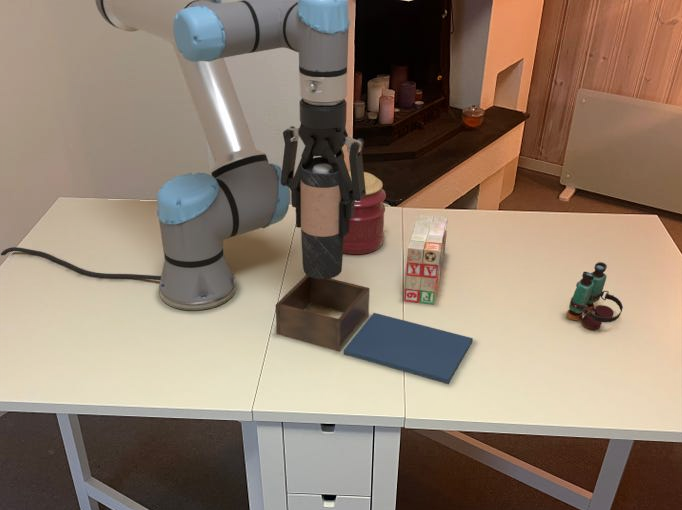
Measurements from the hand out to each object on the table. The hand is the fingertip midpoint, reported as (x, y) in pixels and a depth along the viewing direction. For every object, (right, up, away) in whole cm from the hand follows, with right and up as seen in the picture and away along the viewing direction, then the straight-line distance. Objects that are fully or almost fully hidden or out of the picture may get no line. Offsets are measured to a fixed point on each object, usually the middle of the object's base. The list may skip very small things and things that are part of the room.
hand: (322, 229), depth 133 cm
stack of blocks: (+21, -6, +27) cm, 35 cm away
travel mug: (0, -7, +5) cm, 8 cm away
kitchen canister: (+7, +4, +40) cm, 40 cm away
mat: (+16, -21, +6) cm, 27 cm away
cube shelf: (0, -16, +12) cm, 20 cm away
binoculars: (+53, -15, +14) cm, 57 cm away
